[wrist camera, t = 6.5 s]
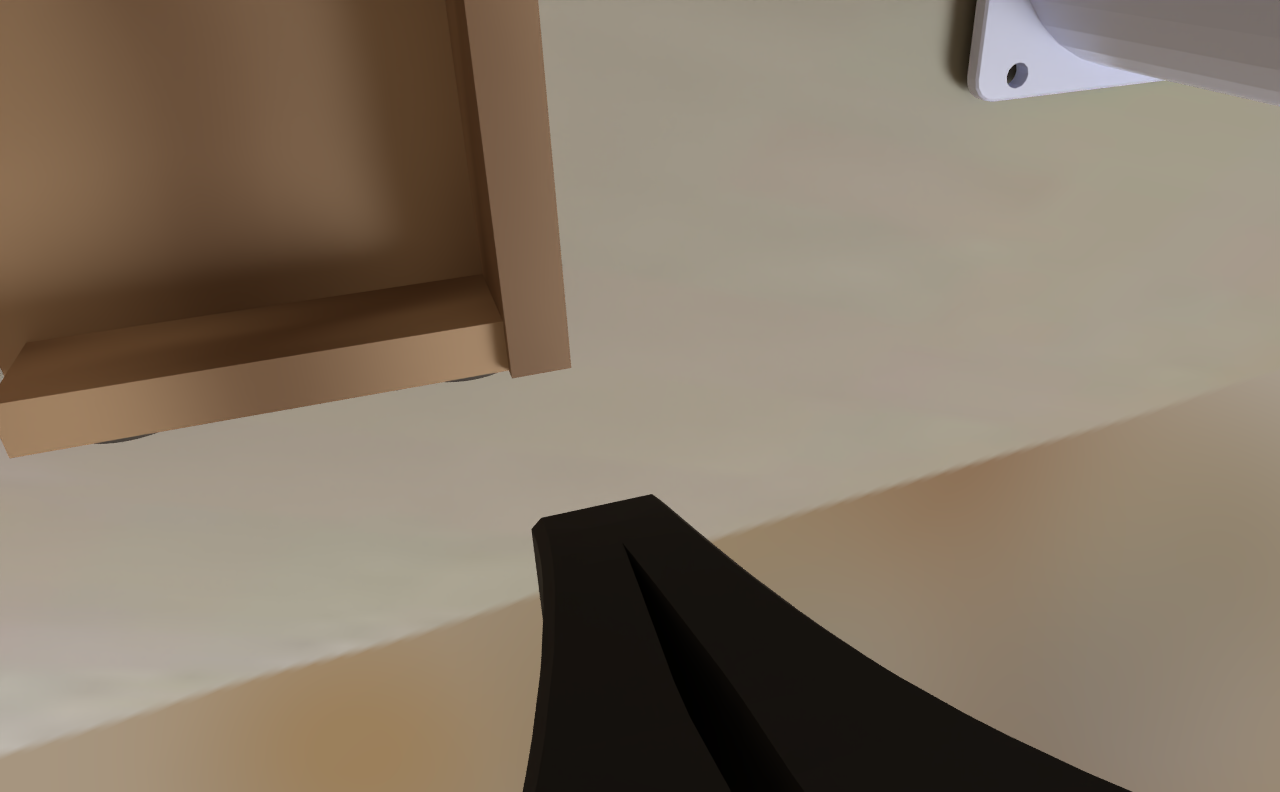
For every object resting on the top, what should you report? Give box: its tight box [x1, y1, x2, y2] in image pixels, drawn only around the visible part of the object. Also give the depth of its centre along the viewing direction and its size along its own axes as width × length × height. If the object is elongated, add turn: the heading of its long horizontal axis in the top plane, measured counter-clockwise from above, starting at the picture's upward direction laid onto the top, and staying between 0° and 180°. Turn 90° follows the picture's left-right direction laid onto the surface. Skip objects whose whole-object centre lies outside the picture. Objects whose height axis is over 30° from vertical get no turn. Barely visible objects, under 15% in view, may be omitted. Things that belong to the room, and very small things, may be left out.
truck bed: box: [0, 0, 571, 458], centre depth 14 cm, size 9×11×4 cm
